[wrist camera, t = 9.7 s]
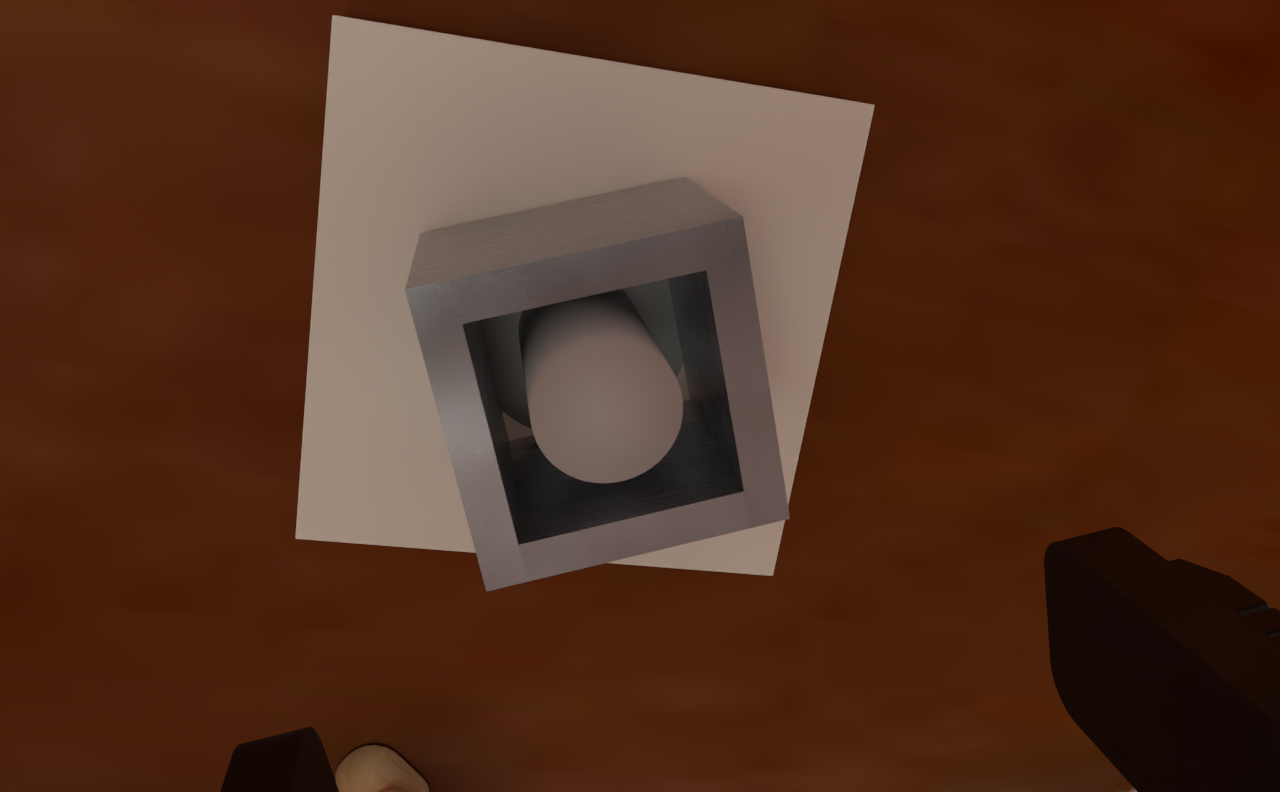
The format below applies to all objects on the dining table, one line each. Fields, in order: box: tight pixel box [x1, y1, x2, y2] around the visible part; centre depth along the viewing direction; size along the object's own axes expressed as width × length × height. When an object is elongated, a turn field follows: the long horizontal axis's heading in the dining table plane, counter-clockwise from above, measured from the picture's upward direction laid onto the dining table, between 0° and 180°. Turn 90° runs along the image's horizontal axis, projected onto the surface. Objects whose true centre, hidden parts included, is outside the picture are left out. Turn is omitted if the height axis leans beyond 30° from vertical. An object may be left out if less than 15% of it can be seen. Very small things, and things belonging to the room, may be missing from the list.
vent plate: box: [295, 15, 875, 576], centre depth 23 cm, size 12×12×8 cm
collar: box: [405, 177, 790, 592], centre depth 22 cm, size 6×6×6 cm
